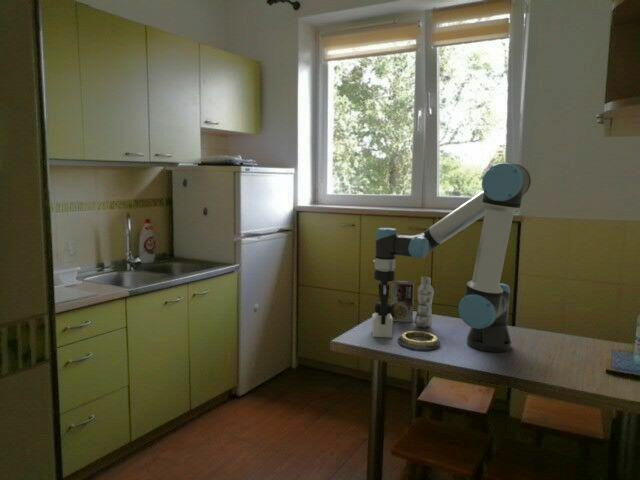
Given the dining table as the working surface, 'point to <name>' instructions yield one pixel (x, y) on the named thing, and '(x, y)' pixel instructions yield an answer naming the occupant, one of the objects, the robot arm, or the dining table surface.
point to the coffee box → (402, 301)
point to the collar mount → (419, 341)
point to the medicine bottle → (376, 322)
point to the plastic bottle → (424, 303)
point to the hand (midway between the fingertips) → (382, 328)
